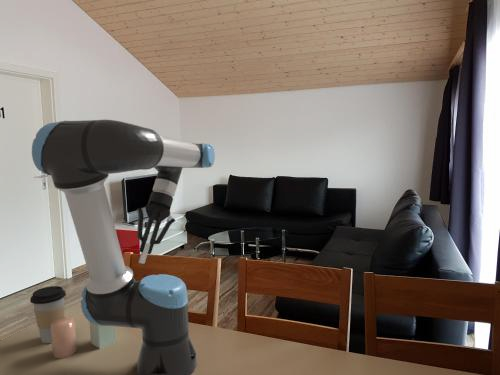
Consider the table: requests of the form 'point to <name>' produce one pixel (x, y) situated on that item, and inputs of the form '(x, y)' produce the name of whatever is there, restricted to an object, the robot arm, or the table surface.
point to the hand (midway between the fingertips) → (141, 263)
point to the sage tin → (102, 335)
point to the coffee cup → (48, 309)
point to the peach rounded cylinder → (63, 337)
